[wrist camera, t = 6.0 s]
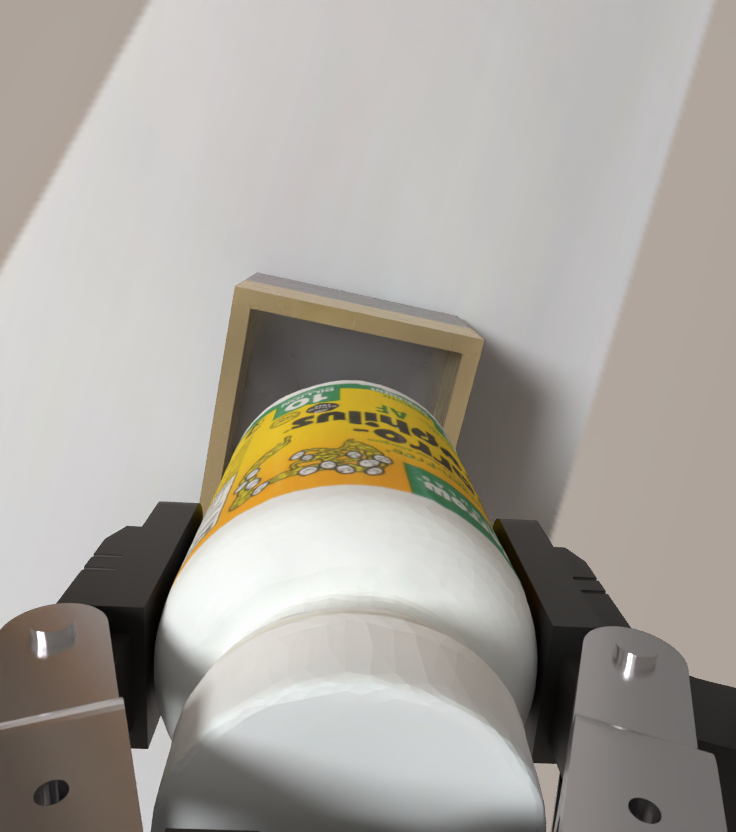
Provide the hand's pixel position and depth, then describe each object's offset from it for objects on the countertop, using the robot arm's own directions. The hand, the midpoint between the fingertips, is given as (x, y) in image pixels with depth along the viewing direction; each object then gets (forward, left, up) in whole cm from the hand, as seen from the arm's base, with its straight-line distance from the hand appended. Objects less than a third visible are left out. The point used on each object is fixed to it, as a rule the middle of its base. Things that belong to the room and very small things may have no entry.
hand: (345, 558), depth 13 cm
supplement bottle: (0, 0, -4) cm, 4 cm away
